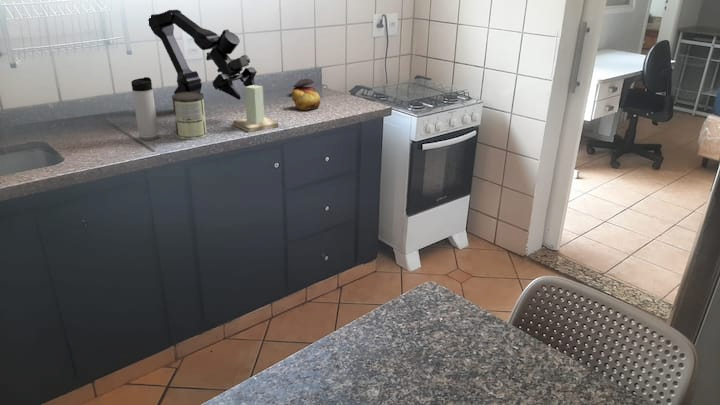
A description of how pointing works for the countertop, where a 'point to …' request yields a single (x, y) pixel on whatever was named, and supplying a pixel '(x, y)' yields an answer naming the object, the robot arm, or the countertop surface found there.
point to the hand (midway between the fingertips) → (248, 96)
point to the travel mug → (145, 109)
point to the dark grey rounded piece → (304, 85)
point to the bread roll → (306, 99)
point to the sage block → (254, 104)
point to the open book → (255, 127)
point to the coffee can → (189, 115)
